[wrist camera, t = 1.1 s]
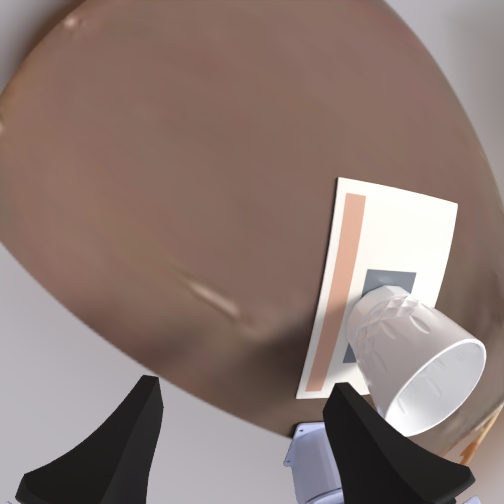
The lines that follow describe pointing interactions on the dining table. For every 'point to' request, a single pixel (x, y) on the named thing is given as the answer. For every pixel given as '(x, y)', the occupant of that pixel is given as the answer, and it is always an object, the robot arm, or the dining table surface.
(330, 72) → the dining table surface
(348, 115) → the dining table surface
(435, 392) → the white cup
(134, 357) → the dining table surface
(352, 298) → the menu card
